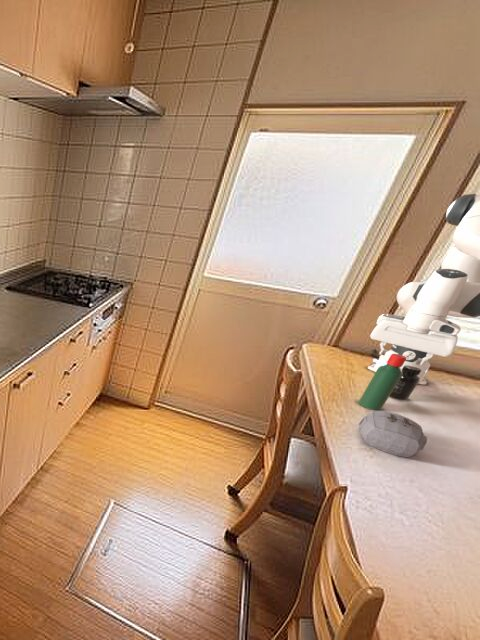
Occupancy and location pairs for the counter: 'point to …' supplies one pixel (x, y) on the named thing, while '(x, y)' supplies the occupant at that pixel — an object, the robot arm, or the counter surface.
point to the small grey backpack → (392, 433)
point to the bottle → (380, 387)
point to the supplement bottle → (406, 383)
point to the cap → (396, 360)
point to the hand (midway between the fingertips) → (399, 359)
